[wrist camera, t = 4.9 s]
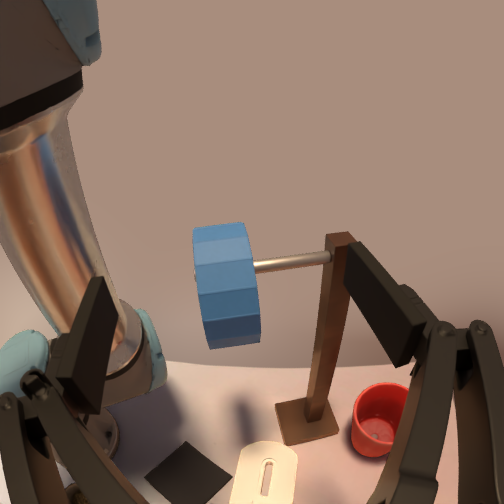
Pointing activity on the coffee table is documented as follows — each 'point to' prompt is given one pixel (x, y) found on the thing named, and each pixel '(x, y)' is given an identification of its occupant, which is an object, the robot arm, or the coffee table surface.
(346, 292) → the peg stand
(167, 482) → the mat
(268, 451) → the bracket
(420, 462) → the robot arm
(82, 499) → the mate gourd
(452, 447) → the coffee table surface
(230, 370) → the coffee table surface
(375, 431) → the flower pot
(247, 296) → the tape roll
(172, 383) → the coffee table surface
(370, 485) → the coffee table surface
